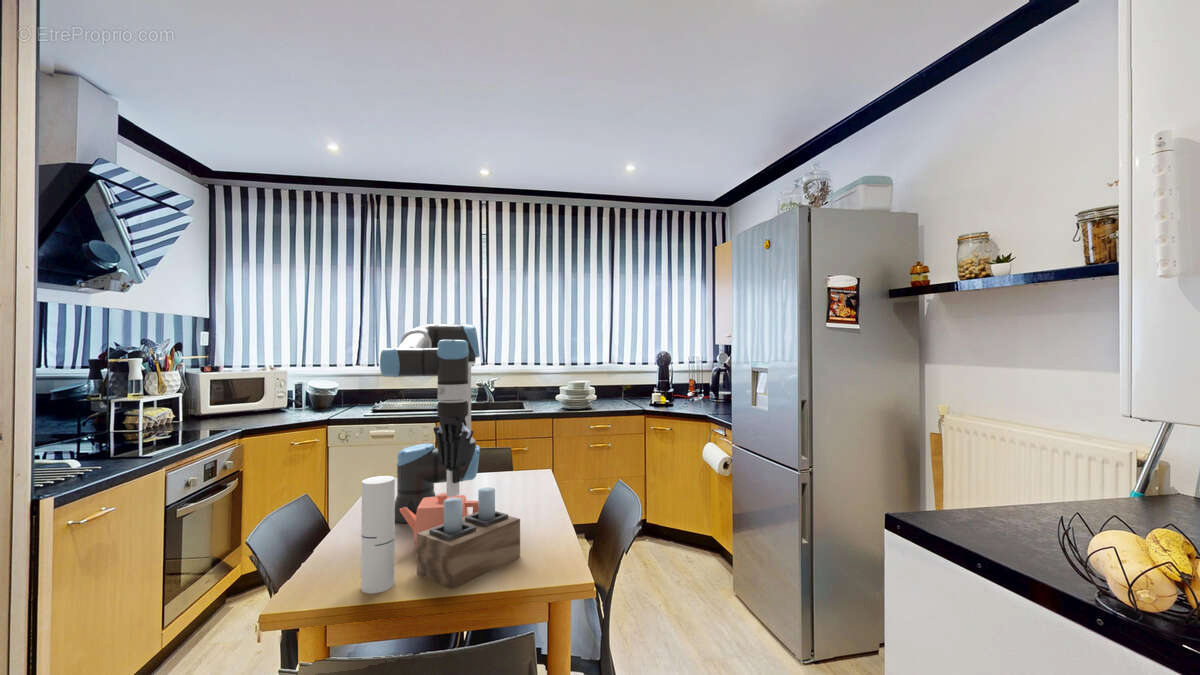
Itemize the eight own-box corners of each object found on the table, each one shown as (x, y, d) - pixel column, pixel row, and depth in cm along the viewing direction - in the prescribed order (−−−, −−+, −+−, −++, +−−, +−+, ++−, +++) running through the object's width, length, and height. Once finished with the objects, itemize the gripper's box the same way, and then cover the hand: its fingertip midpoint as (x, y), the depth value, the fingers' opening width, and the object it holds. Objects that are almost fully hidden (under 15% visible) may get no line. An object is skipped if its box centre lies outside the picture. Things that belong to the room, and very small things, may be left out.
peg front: (440, 537, 121) (440, 501, 122) (454, 531, 125) (454, 496, 125) (451, 541, 119) (451, 504, 119) (465, 535, 122) (465, 499, 123)
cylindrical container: (368, 579, 118) (368, 476, 119) (398, 578, 119) (398, 475, 119) (356, 594, 111) (356, 484, 112) (388, 592, 112) (388, 483, 112)
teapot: (394, 556, 132) (395, 503, 132) (404, 538, 144) (404, 490, 144) (478, 549, 136) (478, 498, 136) (480, 532, 148) (480, 486, 148)
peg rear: (474, 524, 130) (474, 490, 130) (487, 519, 134) (487, 486, 134) (486, 527, 128) (485, 493, 128) (498, 522, 131) (498, 489, 131)
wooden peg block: (416, 573, 121) (416, 529, 121) (485, 544, 139) (485, 505, 139) (452, 589, 113) (452, 541, 113) (520, 556, 131) (520, 515, 131)
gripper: (424, 400, 123) (424, 494, 123) (457, 403, 116) (457, 503, 115) (449, 398, 129) (449, 487, 129) (481, 400, 122) (482, 495, 121)
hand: (452, 495), depth 122 cm, fingers closed
